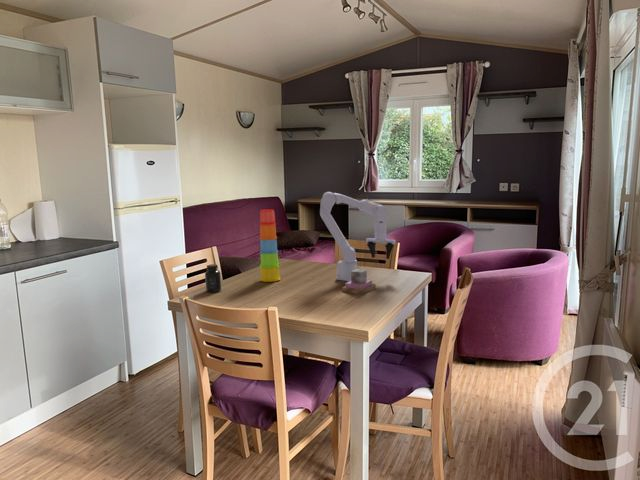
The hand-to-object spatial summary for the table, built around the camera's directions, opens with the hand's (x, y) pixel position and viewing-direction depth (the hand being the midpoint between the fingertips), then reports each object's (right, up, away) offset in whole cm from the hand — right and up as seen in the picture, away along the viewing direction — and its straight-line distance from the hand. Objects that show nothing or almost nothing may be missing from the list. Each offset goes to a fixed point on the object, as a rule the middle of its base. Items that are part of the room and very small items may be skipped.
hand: (380, 257), depth 235 cm
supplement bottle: (-78, -15, -13) cm, 80 cm away
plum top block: (-12, -12, -17) cm, 24 cm away
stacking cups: (-54, -11, +4) cm, 55 cm away
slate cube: (-12, -10, -17) cm, 23 cm away
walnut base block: (-12, -14, -16) cm, 25 cm away
